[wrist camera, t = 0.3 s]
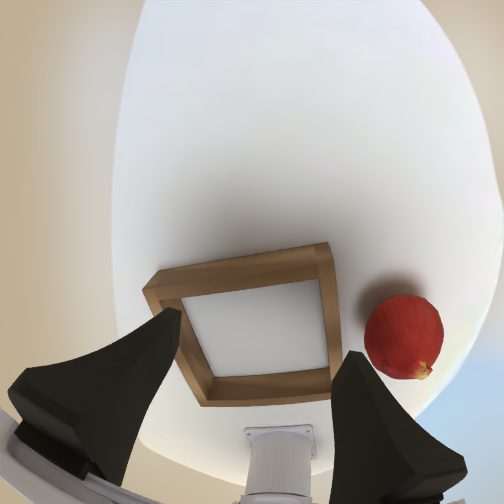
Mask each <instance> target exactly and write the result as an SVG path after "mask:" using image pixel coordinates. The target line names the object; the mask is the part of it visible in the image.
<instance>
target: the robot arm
mask: <svg viewBox="0 0 504 504" xmlns="http://www.w3.org/2000/svg"><path fill="white" fill-rule="evenodd" d="M181 317H182V311H180V310H177V309H174V308H171V307H167V308H165V309H164V310H163V311H161V312H160V313H159V314H157V315H156V316H155V317H153V318H152V319H150V320H149V321H148V322H146V323H145V324H143V325H142V326H140V327H139V328H137V329H136V330H134V331H133V332H131V333H129V334H128V335H126V336H124V337H123V338H121V339H119V340H117V341H116V342H114V343H112V344H110V345H108V346H106V347H104V348H102V349H100V350H97V351H95V352H92V353H90V354H87V355H84V356H81V357H79V358H76V359H73V360H69V361H65V362H61V363H57V364H52V365H47V366H39V367H32V368H26V369H25V370H24V371H23V372H22V373H21V375H20V376H19V377H18V378H17V379H16V381H15V382H14V383H13V384H12V385H11V387H10V388H9V389H8V396H9V399H10V400H11V402H12V404H13V405H14V407H15V408H16V410H17V412H18V413H19V414H20V416H21V417H22V419H23V420H22V422H21V423H20V425H19V423H18V422H17V421H16V420H14V419H13V418H12V417H11V416H10V415H8V414H7V413H6V412H5V411H4V410H2V409H1V408H0V478H1V479H2V480H4V481H5V482H6V483H7V484H8V485H9V486H10V487H12V488H13V489H14V490H15V491H17V492H18V493H19V494H20V495H22V496H23V497H24V498H26V499H27V500H28V501H29V502H31V503H32V504H163V503H160V502H157V501H154V500H151V499H149V498H146V497H143V496H140V495H138V494H135V493H133V492H130V491H128V490H125V489H123V488H121V487H120V486H121V484H122V481H123V478H124V474H125V471H126V467H127V464H128V461H129V458H130V455H131V452H132V449H133V445H134V443H135V440H136V437H137V435H138V432H139V429H140V427H141V424H142V422H143V419H144V417H145V414H146V412H147V409H148V407H149V405H150V403H151V401H152V400H153V398H154V396H155V394H156V392H157V391H158V389H159V387H160V385H161V383H162V381H163V380H164V378H165V376H166V374H167V372H168V371H169V369H170V367H171V365H172V362H173V360H174V357H175V355H176V352H177V350H178V347H179V339H180V327H181ZM331 408H332V419H333V430H334V442H335V456H334V471H333V480H332V488H331V495H330V500H329V504H440V501H442V500H443V499H444V497H443V492H445V491H447V490H448V489H449V488H451V487H453V486H454V485H456V484H457V483H459V482H460V481H461V480H463V478H465V476H466V475H467V473H468V471H467V467H466V464H465V461H464V457H463V456H462V455H460V454H458V453H456V452H454V451H453V450H451V449H450V448H448V447H446V446H445V445H443V444H442V443H441V442H439V441H438V440H436V439H435V438H434V437H432V436H431V435H430V434H429V433H428V432H426V431H425V430H424V429H423V428H422V427H421V426H420V425H419V424H418V423H416V421H415V420H414V419H413V418H412V417H411V416H410V415H409V414H408V413H407V412H406V411H405V410H404V409H403V407H402V406H401V405H400V404H399V403H398V401H397V400H396V399H395V398H394V396H393V395H392V394H391V392H390V391H389V390H388V388H387V387H386V386H385V384H384V383H383V381H382V380H381V379H380V377H379V376H378V374H377V373H376V371H375V370H374V368H373V367H372V365H371V364H370V363H369V361H368V360H367V358H366V357H365V356H364V354H363V353H362V352H356V351H349V352H348V354H347V356H346V358H345V360H344V361H343V363H342V365H341V366H340V368H339V370H338V372H337V373H336V375H335V377H334V378H333V380H332V385H331ZM244 433H245V435H246V437H247V439H248V441H249V443H250V444H251V446H252V454H251V460H250V466H249V472H248V478H247V484H246V491H245V495H241V499H240V501H234V502H233V503H232V504H312V497H310V481H311V480H310V479H311V459H316V458H317V454H316V448H315V442H314V436H313V430H312V426H311V425H300V426H287V427H270V428H246V429H244ZM313 504H318V503H313ZM448 504H465V500H464V499H460V500H458V501H454V502H451V503H448Z"/></svg>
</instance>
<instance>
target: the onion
mask: <svg viewBox="0 0 504 504" xmlns="http://www.w3.org/2000/svg"><path fill="white" fill-rule="evenodd" d="M443 338H444V329H443V325H442V322H441V318H440V316H439V313H438V311H437V310H436V309H435V307H434V306H433V305H432V304H430V303H429V302H428V301H427V300H426V299H425V298H422V297H418V296H413V295H408V294H407V295H399V296H395V297H392V298H390V299H388V300H385V301H384V302H382V303H381V304H380V305H379V306H378V307H377V308H376V309H374V311H373V313H372V314H371V316H370V318H369V320H368V322H367V324H366V327H365V335H364V344H365V349H366V351H367V354H368V356H369V358H370V360H371V363H372V364H373V366H374V367H375V368H376V369H377V370H379V371H381V372H382V373H384V374H386V375H387V376H389V377H391V378H394V379H420V380H422V379H424V378H426V377H428V376H429V374H430V373H431V372H432V371H433V370H432V368H431V366H432V365H433V364H434V362H435V361H436V359H437V357H438V355H439V354H440V350H441V347H442V343H443Z"/></svg>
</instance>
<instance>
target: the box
mask: <svg viewBox="0 0 504 504" xmlns="http://www.w3.org/2000/svg"><path fill="white" fill-rule="evenodd" d="M317 278H319V283H320V290H321V298H322V305H323V313H324V321H325V330H326V338H327V348H328V357H329V368H322V369H314V370H307V371H299V372H290V373H280V374H269V375H256V376H240V377H214V376H213V374H212V372H211V370H210V367H209V365H208V363H207V361H206V359H205V356H204V354H203V352H202V350H201V347H200V345H199V343H198V341H197V338H196V336H195V334H194V331H193V329H192V326H191V324H190V322H189V319H188V317H187V314H186V312H185V309H184V307H183V305H182V302H181V299H180V298H183V297H192V296H200V295H208V294H215V293H223V292H230V291H237V290H245V289H252V288H259V287H265V286H272V285H279V284H285V283H292V282H298V281H304V280H310V279H317ZM142 291H143V294H144V296H145V298H146V301H147V303H148V305H149V307H150V310H151V312H152V314H153V316H154V317H155V316H156V315H157V314H159V313H160V312H161V311H163V310H164V309H165V308H167V307H171V308H174V309H177V310H180V311H182V317H181V327H180V339H179V347H178V350H177V352H176V355H175V357H174V359H175V361H176V363H177V365H178V367H179V369H180V370H181V372H182V374H183V376H184V378H185V380H186V381H187V383H188V385H189V387H190V389H191V390H192V392H193V394H194V396H195V397H196V399H197V401H198V403H199V404H200V406H201V407H246V406H268V405H283V404H294V403H304V402H313V401H321V400H328V399H331V385H332V380H333V378H334V377H335V375H336V373H337V372H338V370H339V368H340V366H341V365H342V363H343V357H342V341H341V327H340V315H339V304H338V294H337V284H336V275H335V267H334V260H333V257H332V253H331V250H330V247H329V244H328V242H326V243H320V244H314V245H308V246H302V247H297V248H291V249H285V250H279V251H273V252H267V253H261V254H255V255H249V256H243V257H237V258H232V259H226V260H220V261H214V262H208V263H202V264H196V265H190V266H184V267H178V268H172V269H166V270H160V271H158V272H157V273H156V274H155V275H154V276H153V277H152V278H151V280H150V281H149V282H148V283H147V284H146V285H145V287H144V288H143V289H142Z"/></svg>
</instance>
